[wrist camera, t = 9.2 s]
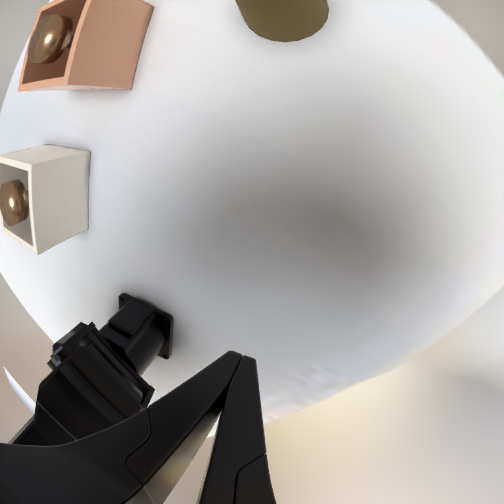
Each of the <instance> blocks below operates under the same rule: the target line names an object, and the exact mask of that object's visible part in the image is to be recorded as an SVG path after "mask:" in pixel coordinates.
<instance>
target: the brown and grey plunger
mask: <svg viewBox="0 0 504 504" xmlns="http://www.w3.org/2000/svg"><path fill="white" fill-rule="evenodd" d="M72 31H73V21H72V19H71V18H70V17H66V16H61V15H56V14H49V15H47V16H46V17H45V18H44V19H43V20H42V21H41V22H40V23H39V24H38V26H37V27H36V29H35V31H34V32H33V35H32V37H31V39H30V43H29V47H28V59H29V61H30V62H31V63H43V64H51V63H53V62H55V61H56V60H57V59H58V58H59V57H60V56H61V55H62V54H63V52H64V51H65V49H66V48H67V49H71V46H72V42H73V38H74V35H72Z"/></svg>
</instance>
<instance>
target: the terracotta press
mask: <svg viewBox="0 0 504 504" xmlns="http://www.w3.org/2000/svg"><path fill="white" fill-rule="evenodd" d="M153 9H154V6H152V5H150V4H148V3H146V2H144V1H142V0H54V1H52V2H50V3H48V4H46V5H44V6H42V7H41V8H40V10H39V12H38V15H37V18H36V21H35V24H34V27H33V30H32V33H31V36H30V39H31V37H32V35H33V32H34V31H35V29H36V27H37V26H38V24H39V23H40V22H41V21H42V20H43V19H44V18H45V17H46V16H47V15H49V14H56V15H61V16H66V17H70V18H71V19H72V21H73V31H72V35H74V38H73V42H72V46H71V49H67V48H66V49H65V51H64V52H63V54H62V55H61V56H60V57H59V58H58V59H57V60H56V61H55V62H53V63H51V64H43V63H31V62H30V61H29V59H28V47H29V43H30V40H29V43H28V47H27V51H26V54H25V59H24V63H23V67H22V72H21V77H20V82H19V88H18V92H24V91H45V90H94V89H129V90H131V88H132V83H133V79H134V74H135V70H136V66H137V62H138V58H139V54H140V51H141V47H142V43H143V40H144V37H145V33H146V30H147V27H148V24H149V21H150V18H151V15H152V12H153Z"/></svg>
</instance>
